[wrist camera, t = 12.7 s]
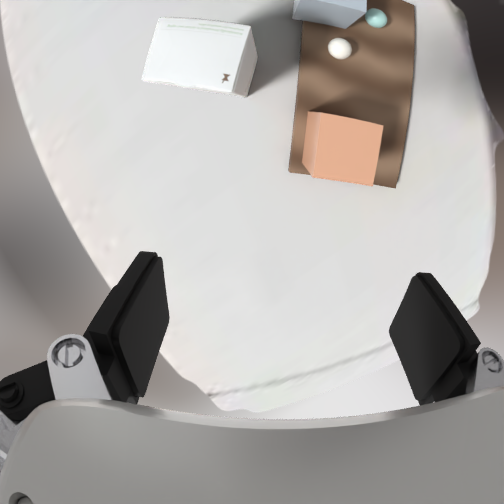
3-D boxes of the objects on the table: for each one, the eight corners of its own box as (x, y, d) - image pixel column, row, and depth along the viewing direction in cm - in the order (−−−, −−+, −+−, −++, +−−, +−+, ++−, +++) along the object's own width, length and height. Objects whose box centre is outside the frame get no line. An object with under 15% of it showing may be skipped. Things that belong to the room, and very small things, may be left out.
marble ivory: (331, 62, 26) (347, 65, 28) (345, 46, 24) (360, 50, 25) (319, 46, 27) (335, 50, 28) (331, 31, 24) (347, 36, 25)
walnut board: (305, -23, 22) (307, -27, 21) (409, 7, 23) (414, 5, 21) (288, 169, 37) (289, 172, 36) (391, 185, 37) (395, 188, 36)
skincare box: (258, 57, 29) (258, 24, 16) (246, 101, 33) (236, 96, 19) (197, 46, 29) (158, 13, 15) (185, 90, 32) (138, 82, 18)
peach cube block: (307, 111, 32) (321, 112, 25) (359, 120, 32) (383, 125, 25) (301, 162, 35) (312, 177, 28) (351, 169, 35) (372, 186, 28)
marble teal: (384, 4, 20) (395, 23, 22) (370, 6, 23) (381, 23, 24) (369, 11, 21) (381, 30, 23) (356, 13, 23) (368, 31, 25)
